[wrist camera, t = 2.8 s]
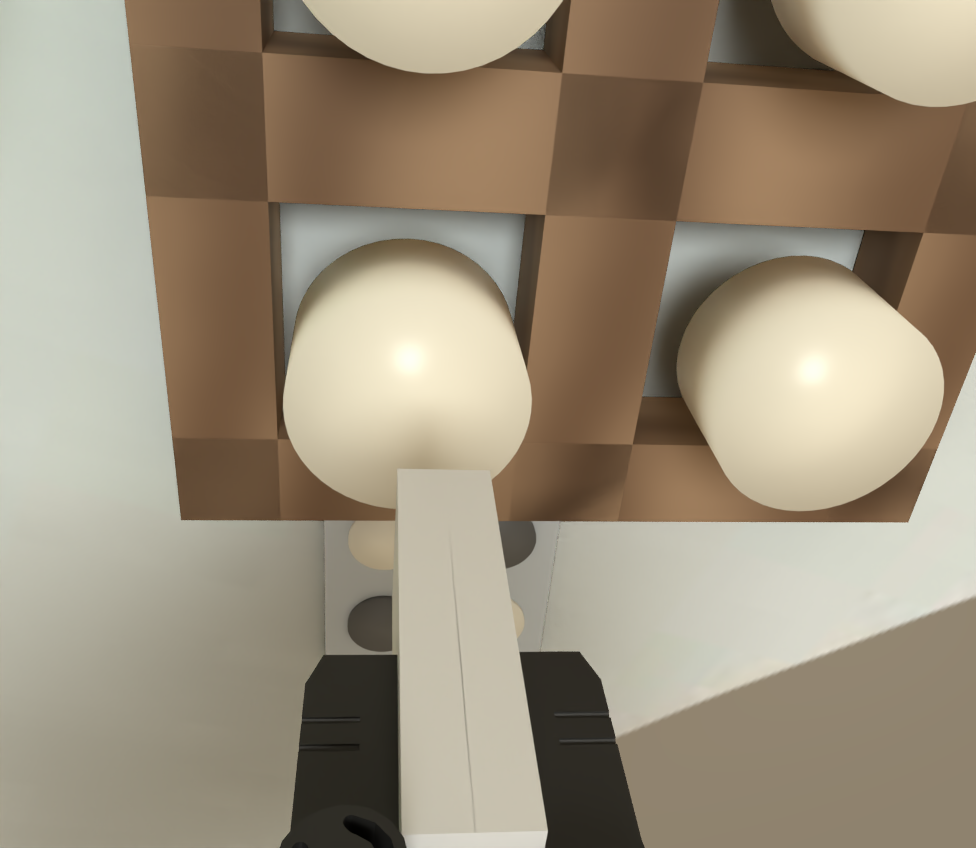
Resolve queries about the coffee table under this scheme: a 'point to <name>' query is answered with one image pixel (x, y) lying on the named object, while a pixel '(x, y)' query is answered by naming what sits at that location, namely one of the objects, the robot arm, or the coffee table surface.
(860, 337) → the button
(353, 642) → the card
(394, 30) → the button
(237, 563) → the coffee table surface
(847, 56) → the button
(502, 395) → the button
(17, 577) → the coffee table surface
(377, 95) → the board
